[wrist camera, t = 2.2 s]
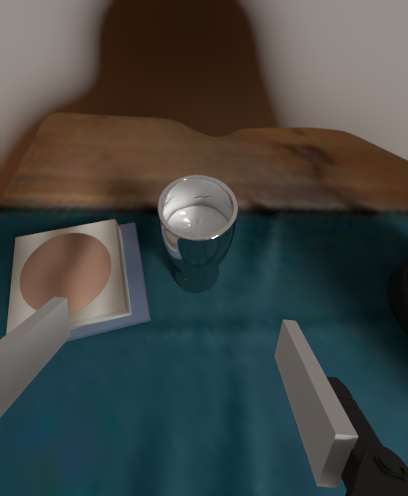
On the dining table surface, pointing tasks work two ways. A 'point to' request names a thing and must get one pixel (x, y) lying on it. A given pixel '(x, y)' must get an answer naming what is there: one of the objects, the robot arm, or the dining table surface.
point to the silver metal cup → (197, 228)
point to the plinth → (71, 274)
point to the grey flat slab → (134, 285)
